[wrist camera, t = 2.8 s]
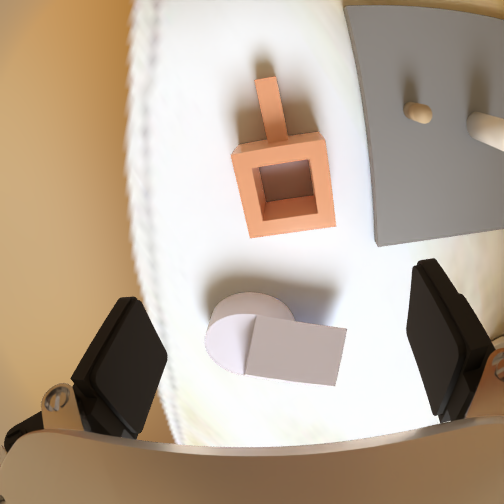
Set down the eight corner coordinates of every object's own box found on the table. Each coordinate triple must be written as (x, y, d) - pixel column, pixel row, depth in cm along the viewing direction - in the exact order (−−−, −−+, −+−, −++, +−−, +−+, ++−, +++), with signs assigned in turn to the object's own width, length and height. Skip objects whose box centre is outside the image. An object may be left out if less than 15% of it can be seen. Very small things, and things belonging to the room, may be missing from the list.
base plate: (536, 218, 24) (566, 242, 19) (374, 240, 27) (391, 275, 23) (531, 30, 15) (568, 29, 10) (343, 9, 18) (358, -11, 13)
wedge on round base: (342, 306, 31) (214, 284, 32) (351, 355, 26) (198, 330, 26) (318, 364, 36) (208, 346, 36) (320, 410, 30) (196, 391, 30)
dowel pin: (420, 119, 21) (433, 123, 19) (404, 119, 21) (416, 124, 19) (418, 101, 20) (431, 104, 18) (402, 102, 20) (414, 104, 18)
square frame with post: (329, 206, 26) (335, 226, 23) (254, 217, 28) (249, 238, 24) (308, 72, 21) (312, 69, 18) (225, 87, 22) (214, 87, 19)
